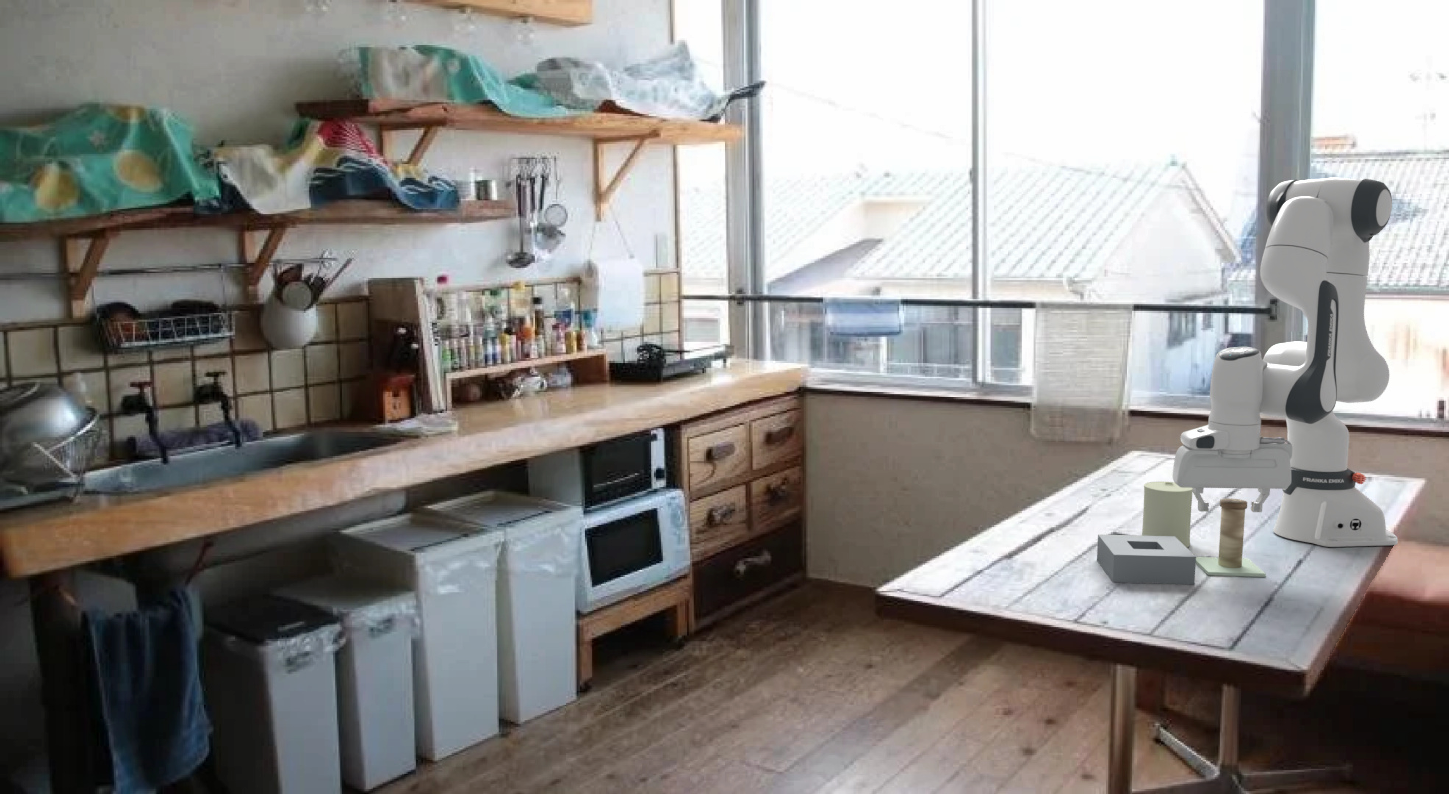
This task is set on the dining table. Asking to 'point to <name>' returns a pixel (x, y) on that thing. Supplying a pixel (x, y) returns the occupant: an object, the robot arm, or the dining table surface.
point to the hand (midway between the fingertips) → (1229, 511)
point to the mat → (1213, 568)
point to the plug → (1231, 532)
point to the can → (1167, 511)
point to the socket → (1146, 559)
